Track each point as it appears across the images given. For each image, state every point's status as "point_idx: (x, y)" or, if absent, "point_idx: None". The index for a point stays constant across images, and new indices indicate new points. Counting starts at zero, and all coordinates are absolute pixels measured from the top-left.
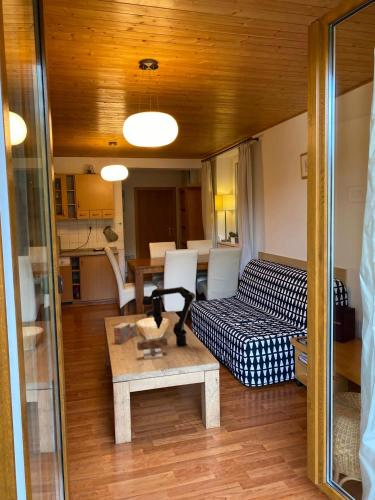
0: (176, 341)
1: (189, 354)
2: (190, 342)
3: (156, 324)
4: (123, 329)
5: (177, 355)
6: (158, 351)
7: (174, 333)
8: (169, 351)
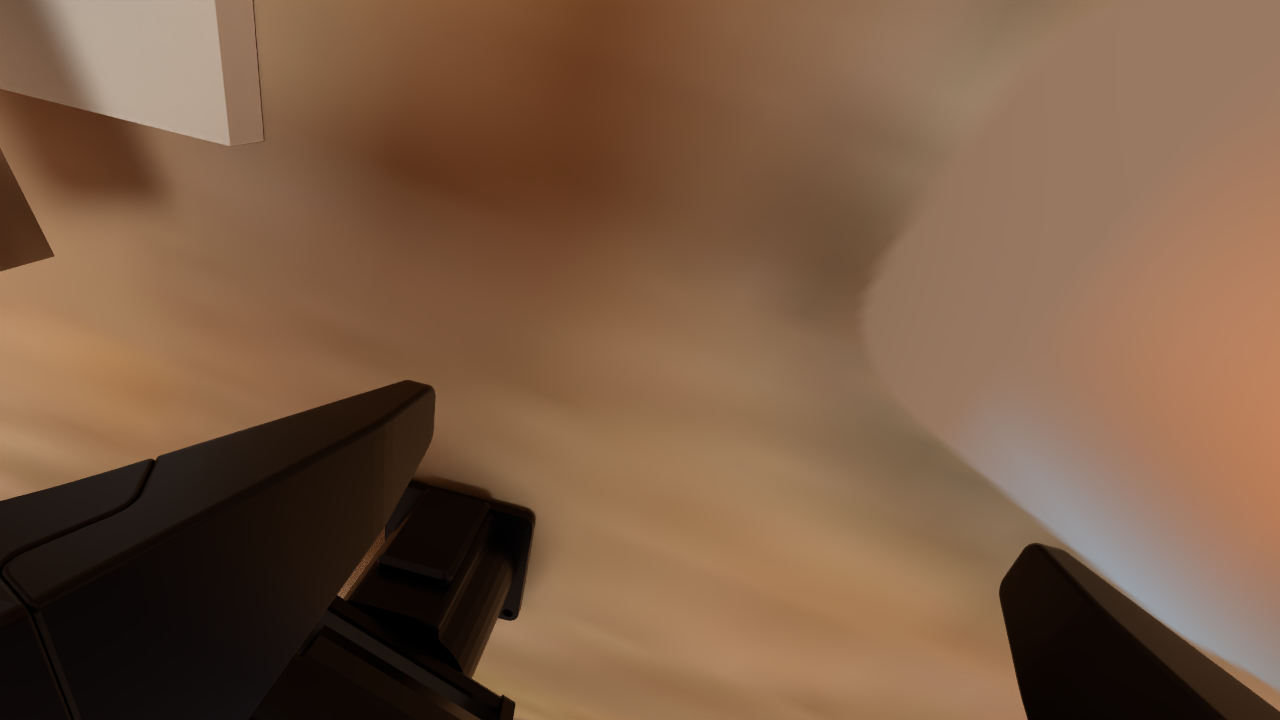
0: (406, 525)
1: (64, 473)
2: (510, 662)
3: (1046, 564)
4: None
5: (20, 323)
6: (50, 36)
7: (315, 638)
8: (198, 278)
